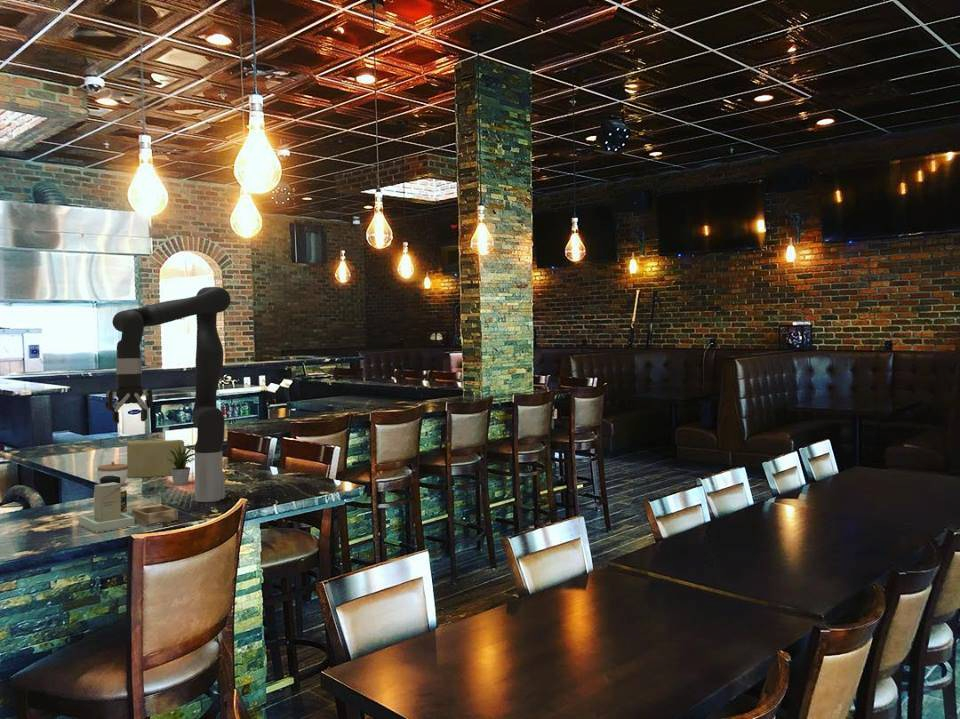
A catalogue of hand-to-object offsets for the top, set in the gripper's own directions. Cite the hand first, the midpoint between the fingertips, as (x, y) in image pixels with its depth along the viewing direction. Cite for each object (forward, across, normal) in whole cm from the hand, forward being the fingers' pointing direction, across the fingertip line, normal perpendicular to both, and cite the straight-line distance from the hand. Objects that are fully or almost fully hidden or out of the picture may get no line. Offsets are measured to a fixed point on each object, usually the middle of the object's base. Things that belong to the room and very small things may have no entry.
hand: (130, 422), depth 249 cm
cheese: (+30, -37, -62) cm, 78 cm away
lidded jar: (+30, -15, -53) cm, 63 cm away
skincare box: (+29, +12, +12) cm, 34 cm away
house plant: (+30, -34, -37) cm, 59 cm away
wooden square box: (+30, -1, +16) cm, 34 cm away
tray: (+30, +12, +12) cm, 34 cm away
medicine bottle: (+30, +4, -6) cm, 31 cm away
